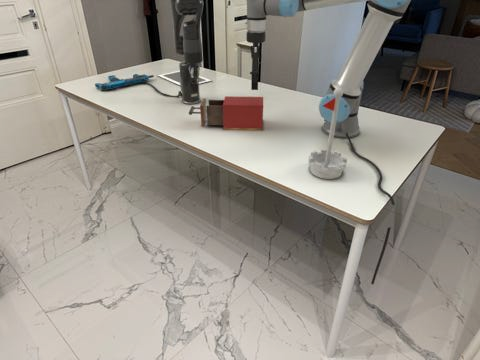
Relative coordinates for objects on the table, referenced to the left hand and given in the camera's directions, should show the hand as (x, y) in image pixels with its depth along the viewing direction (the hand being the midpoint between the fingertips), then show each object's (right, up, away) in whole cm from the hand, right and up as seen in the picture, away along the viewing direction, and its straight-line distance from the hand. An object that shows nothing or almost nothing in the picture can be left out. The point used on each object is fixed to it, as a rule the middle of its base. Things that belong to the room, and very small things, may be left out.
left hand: (196, 91), depth 148 cm
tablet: (-16, +26, +68) cm, 74 cm away
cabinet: (+21, -13, +7) cm, 26 cm away
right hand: (+26, +2, -3) cm, 26 cm away
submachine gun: (-52, +21, +61) cm, 83 cm away
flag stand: (+50, -36, -27) cm, 67 cm away
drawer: (+7, -12, +8) cm, 16 cm away
